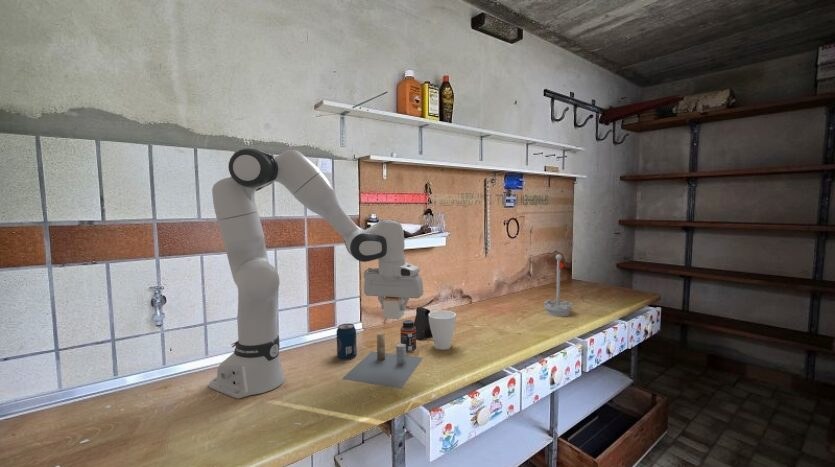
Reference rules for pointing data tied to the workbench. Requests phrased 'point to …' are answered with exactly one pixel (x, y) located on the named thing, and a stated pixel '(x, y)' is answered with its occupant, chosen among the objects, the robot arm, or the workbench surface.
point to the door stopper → (422, 324)
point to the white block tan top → (392, 307)
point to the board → (383, 370)
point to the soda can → (346, 342)
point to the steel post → (401, 354)
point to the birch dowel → (380, 346)
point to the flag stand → (558, 298)
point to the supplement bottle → (408, 335)
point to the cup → (442, 328)
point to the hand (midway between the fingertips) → (393, 309)
